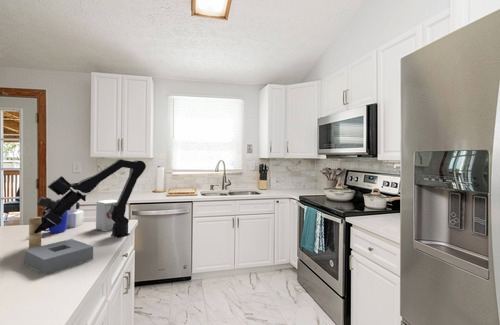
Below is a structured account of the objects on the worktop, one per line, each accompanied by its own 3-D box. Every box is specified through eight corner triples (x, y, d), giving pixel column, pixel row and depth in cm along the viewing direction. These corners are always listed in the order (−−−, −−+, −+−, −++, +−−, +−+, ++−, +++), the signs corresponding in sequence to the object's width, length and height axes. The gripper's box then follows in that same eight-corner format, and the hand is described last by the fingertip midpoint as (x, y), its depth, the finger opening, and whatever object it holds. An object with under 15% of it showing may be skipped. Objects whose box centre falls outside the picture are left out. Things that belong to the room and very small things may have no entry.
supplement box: (104, 231, 138) (104, 203, 137) (95, 228, 142) (95, 201, 142) (120, 227, 145) (121, 201, 145) (111, 225, 150) (112, 199, 150)
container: (69, 223, 151) (69, 201, 151) (83, 223, 152) (83, 201, 151) (60, 227, 143) (61, 203, 143) (75, 227, 144) (75, 203, 144)
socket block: (71, 250, 110) (71, 238, 109) (93, 259, 102) (93, 246, 101) (23, 263, 96) (23, 250, 96) (44, 274, 88) (44, 259, 88)
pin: (38, 246, 114) (38, 216, 113) (42, 248, 112) (43, 217, 111) (27, 248, 110) (27, 218, 110) (31, 250, 108) (31, 219, 108)
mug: (35, 234, 129) (35, 214, 129) (61, 228, 141) (61, 210, 140) (46, 236, 126) (46, 216, 126) (71, 230, 138) (71, 211, 137)
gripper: (50, 187, 121) (18, 214, 114) (52, 192, 107) (15, 223, 100) (70, 203, 126) (41, 229, 119) (75, 210, 112) (41, 240, 105)
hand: (34, 230), depth 111 cm, fingers open, 9 cm apart
